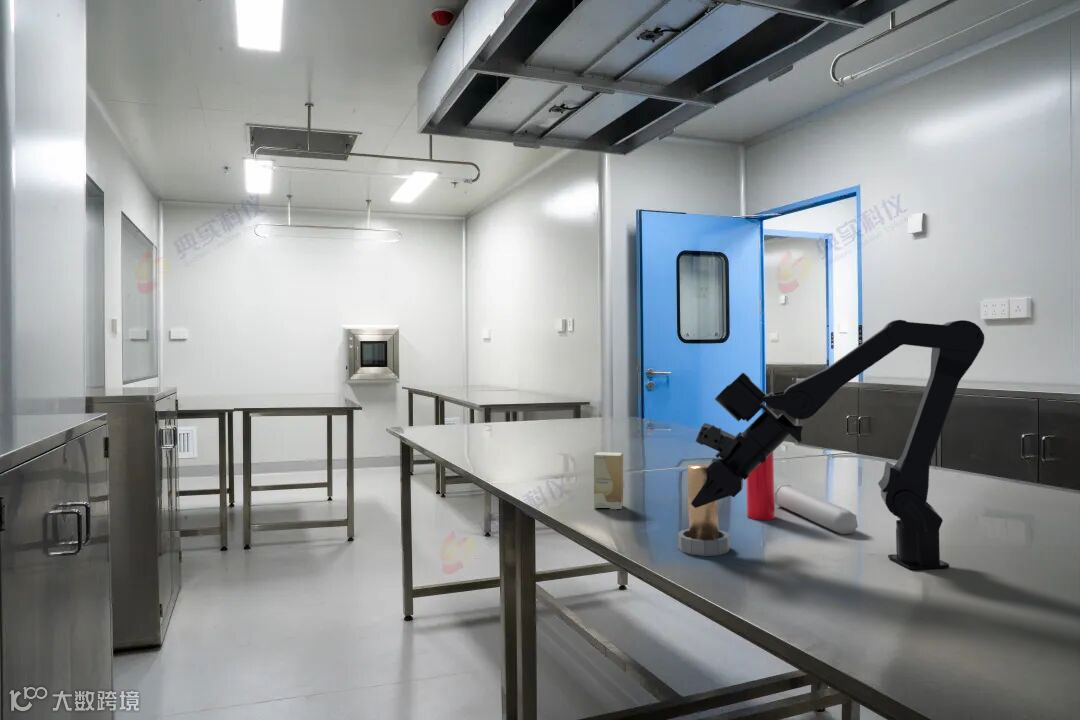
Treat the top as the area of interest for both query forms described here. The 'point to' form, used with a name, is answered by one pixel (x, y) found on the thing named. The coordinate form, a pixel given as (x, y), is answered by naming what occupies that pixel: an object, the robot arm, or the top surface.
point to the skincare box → (608, 480)
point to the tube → (816, 509)
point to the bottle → (761, 491)
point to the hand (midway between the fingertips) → (695, 502)
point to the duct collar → (704, 544)
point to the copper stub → (701, 507)
